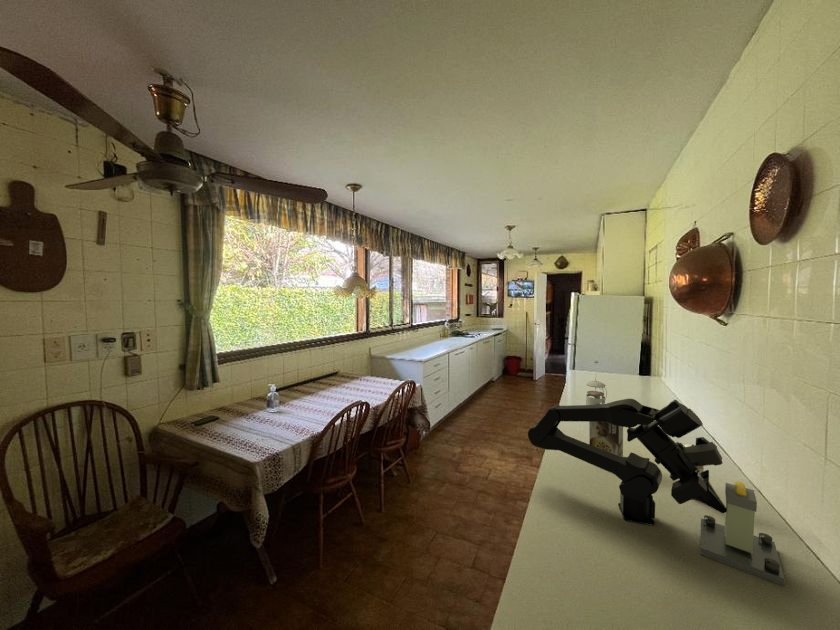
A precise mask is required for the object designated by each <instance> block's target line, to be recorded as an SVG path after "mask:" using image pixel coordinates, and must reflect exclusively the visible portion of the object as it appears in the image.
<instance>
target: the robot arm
mask: <svg viewBox="0 0 840 630" xmlns="http://www.w3.org/2000/svg"><path fill="white" fill-rule="evenodd" d="M601 404H602V403H601ZM561 422H583V423H584V422H606V423H609V424H612V425H615V426H621V427H623V428H627V429H626V433H627V437H626V440H627V442H631V441H633V440H635V439H637V440H638V441H639V442H640V443H641V444H642V445H643V446H644V447H645V448H646V450H648V451H649V452H650V454H651V455H652V456H653V457H654V460H653V461H654V462H652V461H650V460H651V459H650V458H648V457H644V456H640V455H638V454H636V453H634V452H630V453H629V455H628V456H623V457H620V456H617V455H615V454H612V453H610V452H607V451H605V450H602V449H600V448H597V447H595V446H592V445H589V443H587V442H584V441H582V440H579V439H576V438H573V437H571V436H568V435H566V434H565V433H563V431H562V430H561V429H559V428H558V426H559V425H560V423H561ZM703 425H704V424H703V422H702V419H701V418H700V417H699V416H698V415H697V413H695V412H694V411H693V410H692V409H691V408H689V407H687V406H686V405H684V404H683V403H680V401H678V400H677V399H673V400H672V401H670V402H669V403H668V404H666V405H665V406H663V407H662V408H661V409H658V408H654V407H651V406H647V405H644V404H641V402H639V401H638V400H636V399H634V398H624V399H619V400H615V401H611V402H608V403H605V404H602V405H586V404H585V405H583V404H582V405H581V404H580V405H579V404H578V405H577V404H576V405H559V404H555V405H553V406H552V407H550V408H549V409H548V410H547V411H546V413H545V415H544V416H543V417H542V419H540V421H538V423H536V424H535V425H533V426H531V428H529V430H528V432H527V438H528V439H529V440H528V441H529V442H530V444H531V445H532V446H533V447H536V448H539V449H542V450H547V451H559V452H562V453H564V454H567V455H569V456H571V457H573V458H576V459H579V460H581V461H582V462H585V463H588V464H590V465H592V466H595V467H597V468H599V469H601V470H604V471H607V472H608V473H610V474H613V475H615V476H616V477H617V478H618V479H619V480H621V482H620V484H619V486H618V489H619V491H620V494H619V495H620V496H619V499H620V500H619V502H618V504H617V506H618V508H619V511H620V513H621V515H622V518H623V520H625V521H627V522H632V523H639V524H644V525H651V526H655V525H656V522H655V520H654V519H656V502H655V500H654V496H653V495H654V494H656V493H657V492H658V490H659V487H660V484H661V482H662V479H663V473H662V471H661V469H660V468H659V466H658V465H661V466H663V468H664V469H665V470H666V471H667V472H668V473H669V478H670V479H671V480H672V481H673V482H672V485H671V490H670V491H671V492H670V495H671V497H672V498H673V499H674V501H676V503H677V504H678V505H682V504H685V503H687V502H689V501H691V500H693V499H694V500H696V501H699V502H701V504H704V505H707V506H708V507H710V508H712V510H713V509H714V510H716V511H717V512H719V513H721V514H725V513H726V512H727V509H726V505H725V504H724V503H723V502H722V501H723V500H721V498H720V496H719V495H718V494H717V492H716V491H715V489H714V487H713V485H712V484H711V482H710V470H709V469H706V470H704V472H701V471H700V470H698V468H697V466H703V467H704V466H705V467H706V466H720V465H722V464H723V456H722V455H721V453H720V451H719V450H718V449H719V448H718V446H717V445H716V444H715V443H714V442H713V441H709V440H708V439H707V438H705V437H703V436H699V437H696V438H695V444H690V445H691V446H689V447H685V446H684V445H685V444H683V443H681V442H679V441H676V442H675V440H673V439H672V438H677V439H680V438H683V437H684V436H686V435H688V434H690V433H692V432H693V431H695V430H696V429H698V428H700V427H703ZM671 437H672V438H671Z"/></svg>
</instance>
